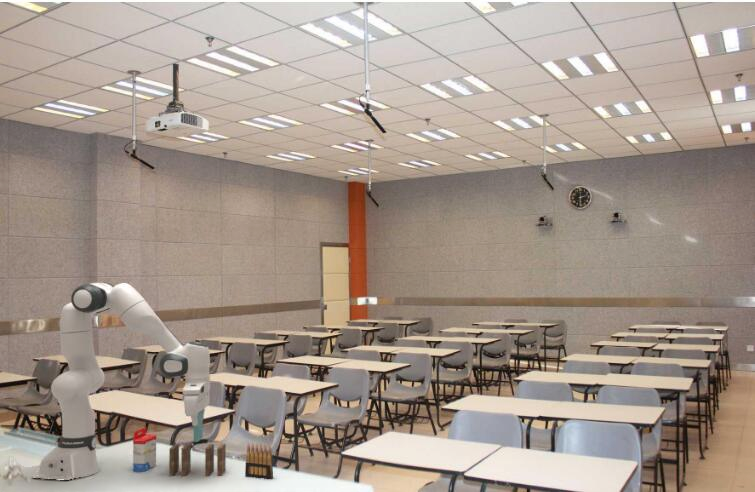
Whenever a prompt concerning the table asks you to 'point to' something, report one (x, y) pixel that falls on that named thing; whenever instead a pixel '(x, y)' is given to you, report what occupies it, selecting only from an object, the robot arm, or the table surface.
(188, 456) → the domino
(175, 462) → the domino
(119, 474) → the table surface
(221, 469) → the domino
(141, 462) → the ink box
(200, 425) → the domino
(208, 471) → the domino
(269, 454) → the pencil set
